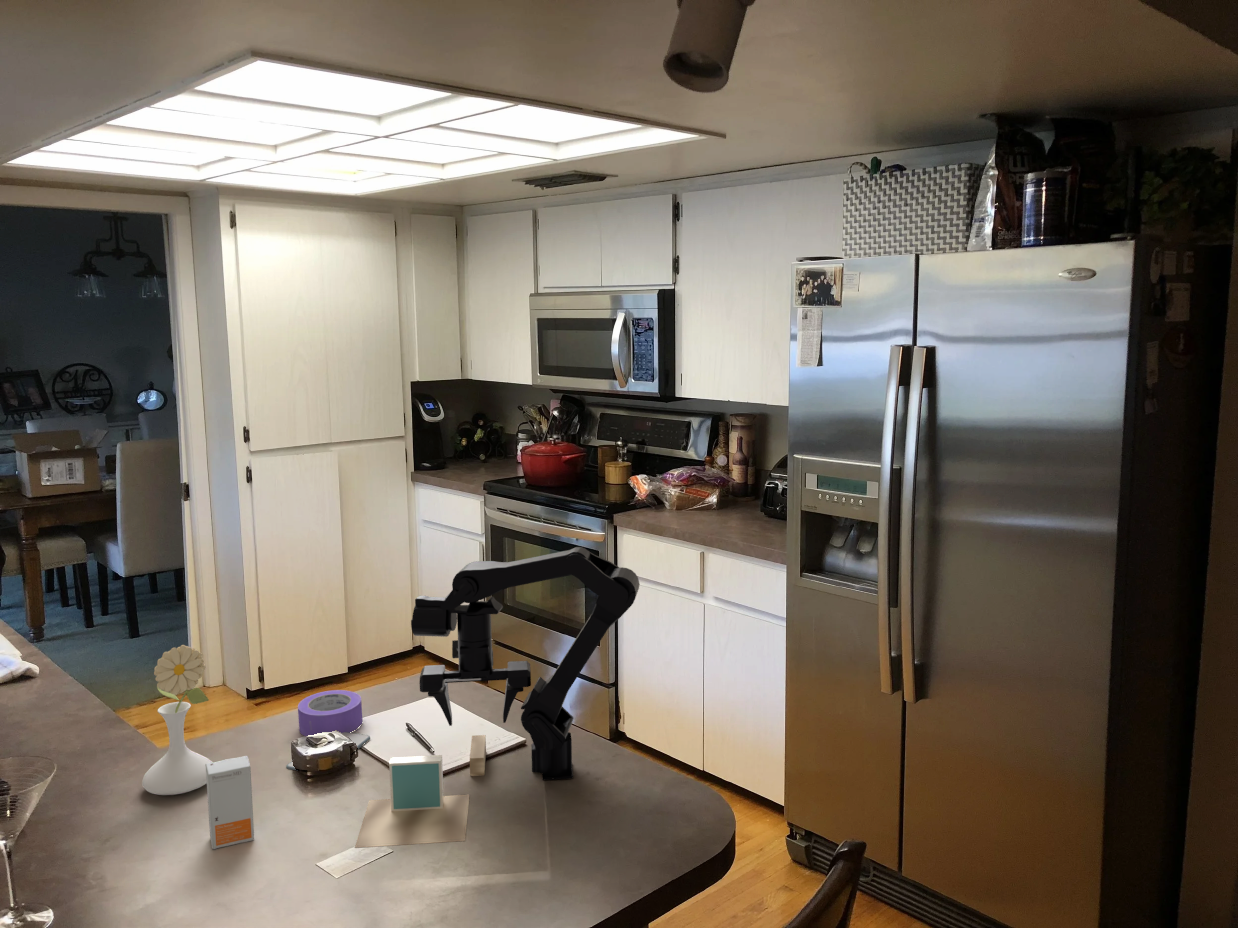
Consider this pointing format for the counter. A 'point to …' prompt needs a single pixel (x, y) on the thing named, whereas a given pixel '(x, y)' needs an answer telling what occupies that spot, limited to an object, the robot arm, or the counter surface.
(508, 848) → the counter surface
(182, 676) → the flower in vase
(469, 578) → the robot arm
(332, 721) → the tape roll
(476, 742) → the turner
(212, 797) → the skincare box
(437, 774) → the tile
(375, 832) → the tan flat board
